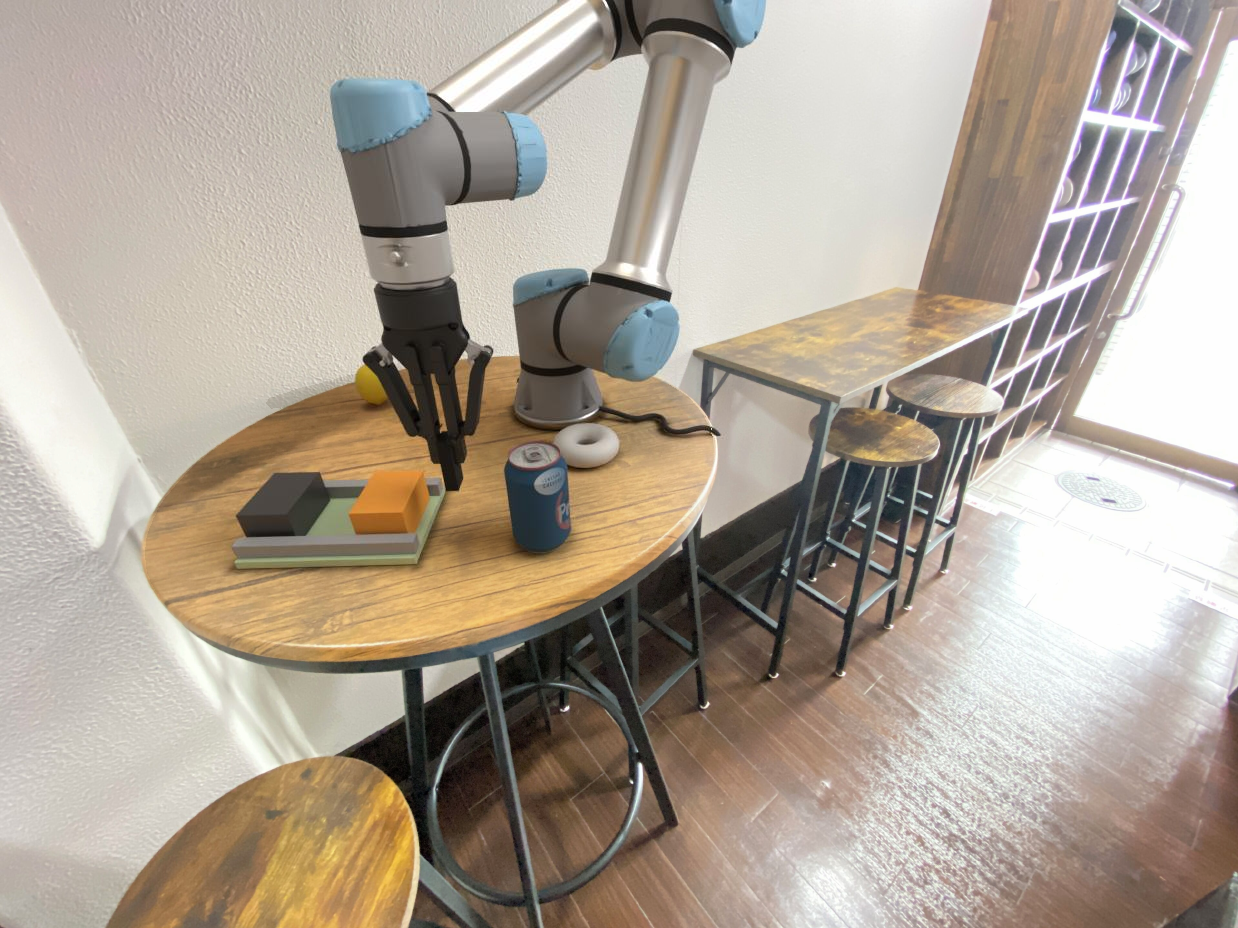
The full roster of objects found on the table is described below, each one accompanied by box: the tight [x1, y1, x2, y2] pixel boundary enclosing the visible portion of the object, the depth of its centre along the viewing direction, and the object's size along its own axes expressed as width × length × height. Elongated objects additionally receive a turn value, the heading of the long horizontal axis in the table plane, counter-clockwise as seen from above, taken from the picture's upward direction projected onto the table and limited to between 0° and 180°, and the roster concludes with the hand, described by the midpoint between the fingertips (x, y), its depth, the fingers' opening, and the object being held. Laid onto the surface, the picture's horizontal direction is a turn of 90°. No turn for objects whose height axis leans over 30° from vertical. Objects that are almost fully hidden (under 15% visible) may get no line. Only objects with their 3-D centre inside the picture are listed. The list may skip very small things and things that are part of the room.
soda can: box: [503, 440, 572, 555], centre depth 61 cm, size 7×7×12 cm
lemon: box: [354, 364, 389, 406], centre depth 92 cm, size 6×6×8 cm
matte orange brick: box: [348, 469, 430, 535], centre depth 65 cm, size 6×9×4 cm
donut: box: [552, 422, 621, 469], centre depth 80 cm, size 10×4×10 cm
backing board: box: [230, 471, 446, 570], centre depth 65 cm, size 20×14×6 cm
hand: (454, 484), depth 63 cm, fingers closed
